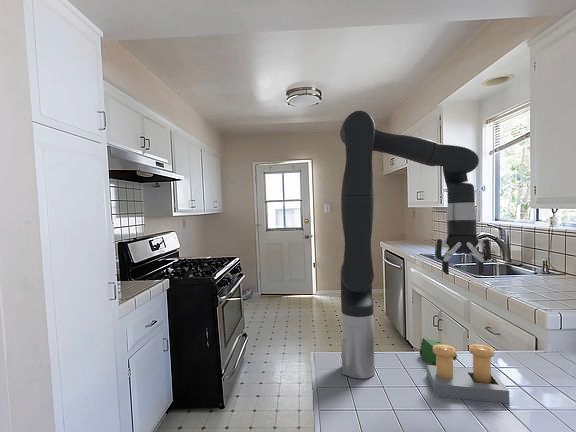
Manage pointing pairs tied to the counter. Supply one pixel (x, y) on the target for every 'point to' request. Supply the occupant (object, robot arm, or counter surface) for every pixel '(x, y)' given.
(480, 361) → the tan peg
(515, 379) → the counter surface
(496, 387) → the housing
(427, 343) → the clamp
